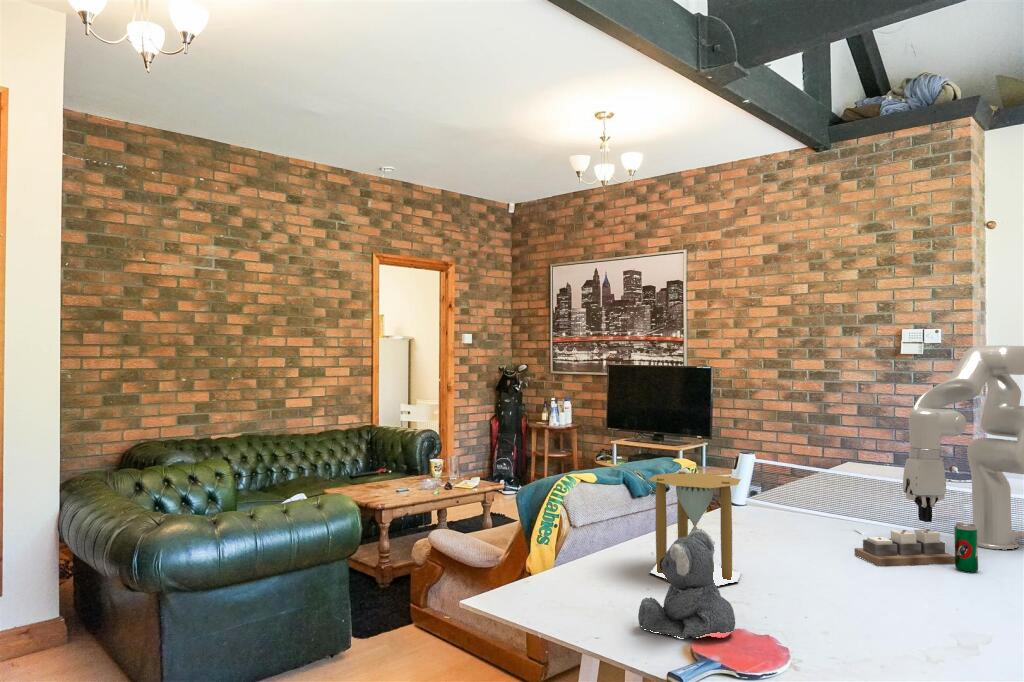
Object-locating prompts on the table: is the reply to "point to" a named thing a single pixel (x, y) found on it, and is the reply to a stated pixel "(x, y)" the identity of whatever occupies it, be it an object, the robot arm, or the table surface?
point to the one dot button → (879, 540)
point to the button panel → (905, 553)
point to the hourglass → (694, 510)
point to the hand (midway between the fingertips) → (925, 520)
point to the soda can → (966, 547)
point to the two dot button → (927, 536)
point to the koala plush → (689, 592)
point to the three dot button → (903, 536)
